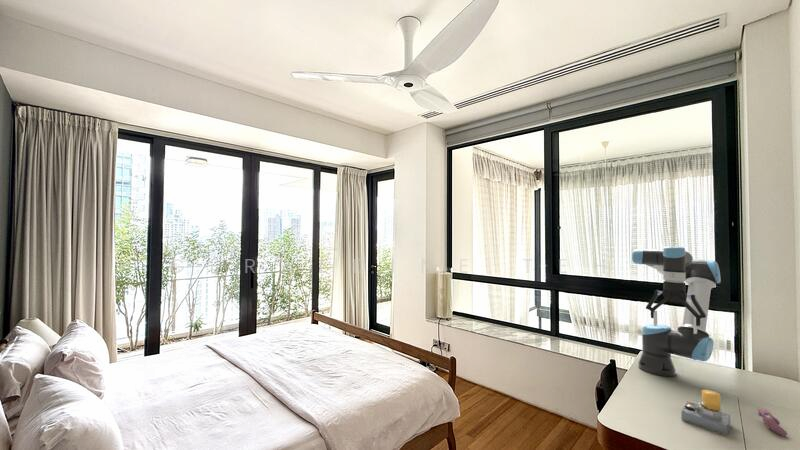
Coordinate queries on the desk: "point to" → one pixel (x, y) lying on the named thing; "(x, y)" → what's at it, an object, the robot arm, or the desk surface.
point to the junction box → (706, 417)
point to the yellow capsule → (711, 400)
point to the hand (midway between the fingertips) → (674, 329)
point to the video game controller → (771, 422)
